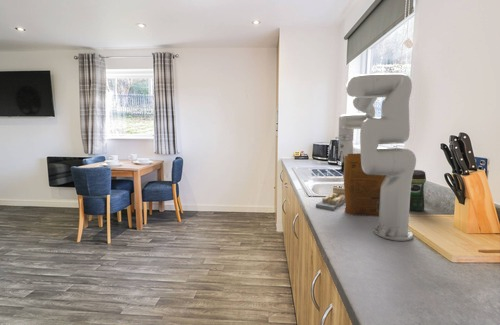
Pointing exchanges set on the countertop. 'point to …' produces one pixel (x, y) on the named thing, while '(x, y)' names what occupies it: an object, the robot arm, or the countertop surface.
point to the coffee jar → (417, 191)
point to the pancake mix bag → (360, 188)
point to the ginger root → (338, 198)
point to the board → (328, 204)
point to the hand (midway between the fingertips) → (344, 171)
